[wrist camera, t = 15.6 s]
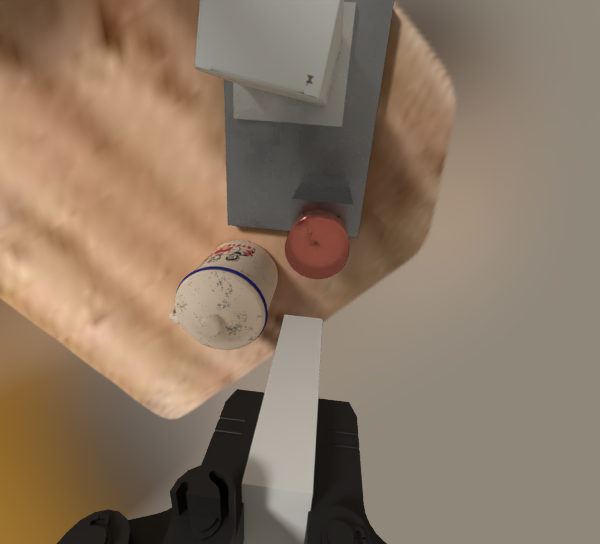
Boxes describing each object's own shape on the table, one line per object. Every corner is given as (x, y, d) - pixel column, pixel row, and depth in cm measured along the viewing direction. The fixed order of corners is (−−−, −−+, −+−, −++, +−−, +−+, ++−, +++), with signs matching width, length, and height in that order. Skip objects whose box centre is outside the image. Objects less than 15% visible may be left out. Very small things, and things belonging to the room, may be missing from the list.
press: (227, -4, 28) (186, -52, 20) (391, 5, 27) (413, -41, 19) (231, 221, 36) (204, 247, 29) (356, 233, 36) (362, 263, 28)
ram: (300, 187, 32) (286, 215, 22) (347, 192, 32) (353, 221, 22) (297, 232, 34) (283, 275, 24) (342, 237, 33) (344, 282, 24)
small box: (343, 33, 27) (349, -16, 17) (326, 108, 29) (322, 101, 19) (248, 8, 26) (200, -55, 17) (238, 85, 29) (191, 67, 19)
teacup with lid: (259, 225, 36) (229, 267, 26) (292, 292, 40) (277, 354, 29) (172, 261, 39) (113, 312, 29) (209, 321, 43) (168, 386, 32)
